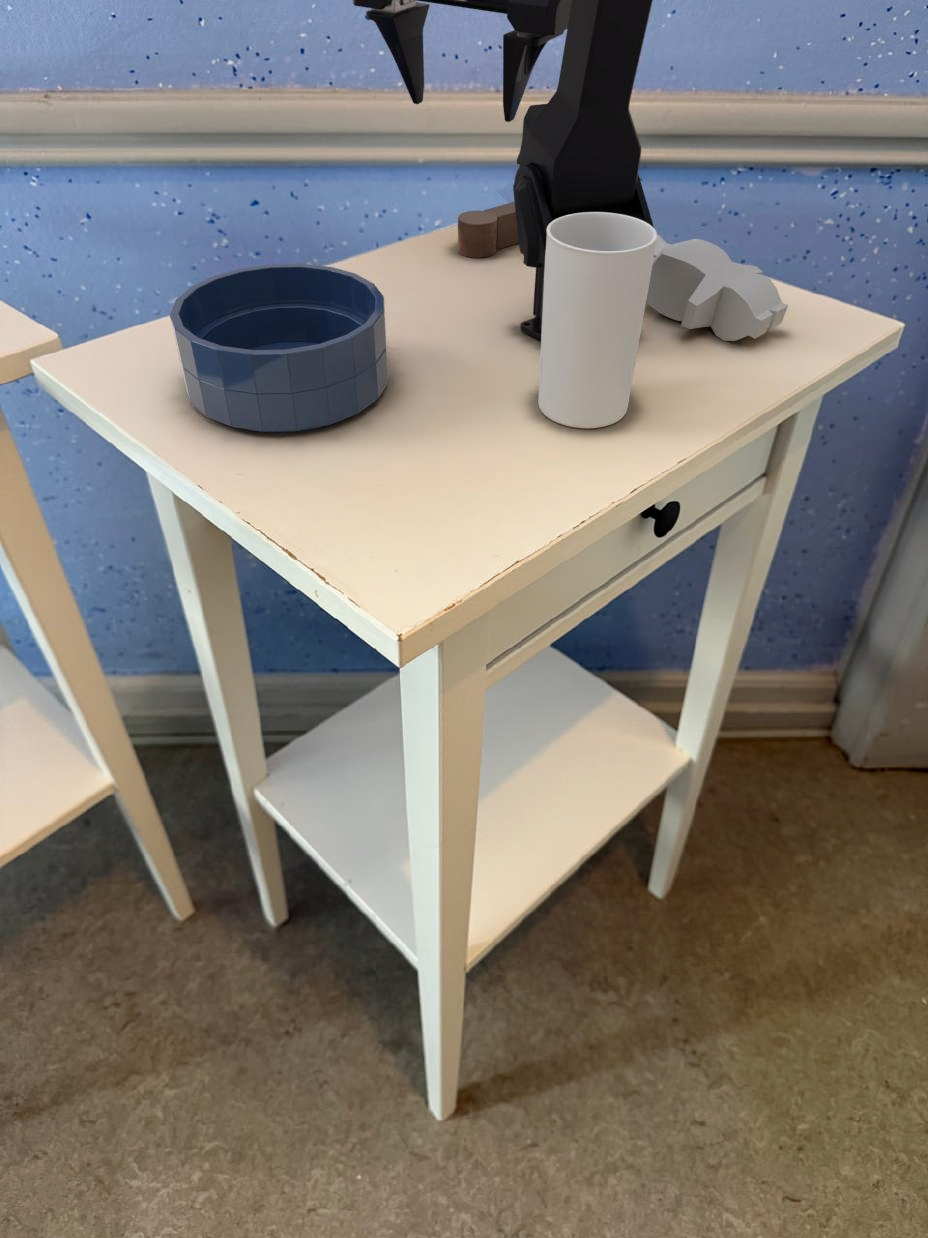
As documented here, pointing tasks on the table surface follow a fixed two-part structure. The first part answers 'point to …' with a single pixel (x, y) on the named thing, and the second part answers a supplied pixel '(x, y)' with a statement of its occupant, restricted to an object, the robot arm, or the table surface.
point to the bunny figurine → (712, 290)
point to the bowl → (282, 346)
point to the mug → (592, 315)
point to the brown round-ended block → (487, 231)
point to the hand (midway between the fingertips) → (462, 111)
